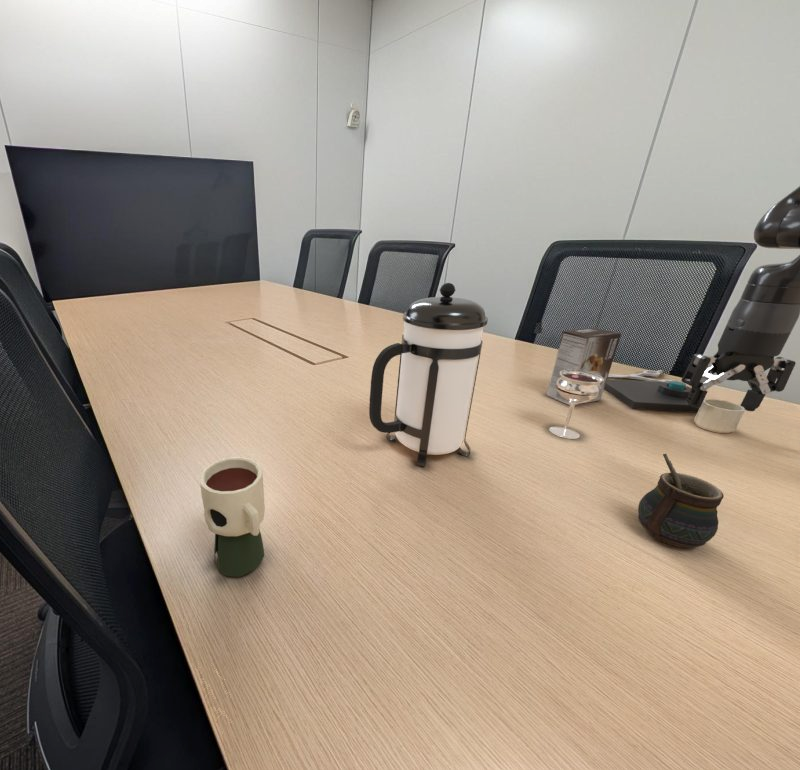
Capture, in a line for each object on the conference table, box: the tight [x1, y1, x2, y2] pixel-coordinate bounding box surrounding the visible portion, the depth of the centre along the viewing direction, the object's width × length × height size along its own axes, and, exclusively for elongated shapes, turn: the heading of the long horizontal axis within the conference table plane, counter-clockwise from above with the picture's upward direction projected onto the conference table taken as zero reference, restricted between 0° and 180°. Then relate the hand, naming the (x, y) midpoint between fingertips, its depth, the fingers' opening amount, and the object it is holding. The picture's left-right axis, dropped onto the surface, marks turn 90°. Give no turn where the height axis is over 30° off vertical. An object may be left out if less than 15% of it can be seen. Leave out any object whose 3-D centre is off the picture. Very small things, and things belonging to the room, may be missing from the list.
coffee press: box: [368, 282, 489, 468], centre depth 64 cm, size 17×16×30 cm
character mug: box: [199, 456, 266, 578], centre depth 45 cm, size 11×7×13 cm, turn 34°
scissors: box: [608, 369, 673, 383], centre depth 98 cm, size 11×1×20 cm
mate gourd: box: [637, 453, 725, 549], centre depth 47 cm, size 7×8×10 cm
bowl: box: [693, 398, 746, 434], centre depth 73 cm, size 6×6×5 cm
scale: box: [604, 378, 699, 413], centre depth 87 cm, size 14×14×3 cm
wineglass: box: [548, 370, 604, 440], centre depth 71 cm, size 7×7×12 cm
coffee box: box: [546, 327, 622, 406], centre depth 85 cm, size 9×6×16 cm
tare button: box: [668, 380, 687, 390], centre depth 85 cm, size 3×3×1 cm
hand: (719, 407), depth 73 cm, fingers open, 8 cm apart
